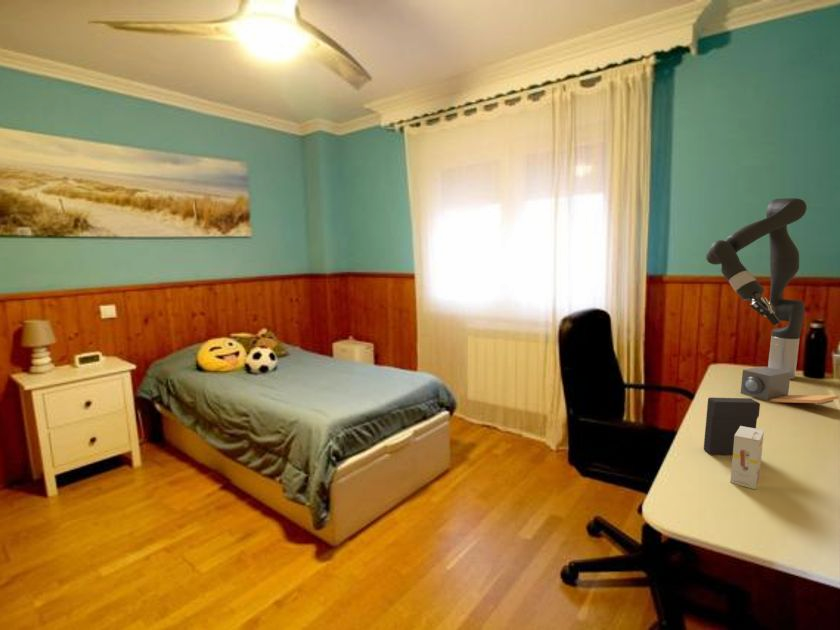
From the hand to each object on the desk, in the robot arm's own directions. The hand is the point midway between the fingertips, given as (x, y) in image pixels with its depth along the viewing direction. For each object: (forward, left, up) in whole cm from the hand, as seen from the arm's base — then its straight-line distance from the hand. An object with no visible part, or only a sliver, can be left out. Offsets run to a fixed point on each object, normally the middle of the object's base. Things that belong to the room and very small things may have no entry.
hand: (777, 324), depth 155 cm
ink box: (+76, -6, -28) cm, 81 cm away
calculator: (+62, -10, -28) cm, 69 cm away
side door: (+3, +3, -27) cm, 27 cm away
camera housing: (+1, -2, -28) cm, 28 cm away
